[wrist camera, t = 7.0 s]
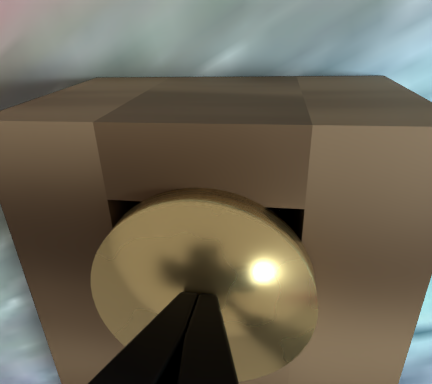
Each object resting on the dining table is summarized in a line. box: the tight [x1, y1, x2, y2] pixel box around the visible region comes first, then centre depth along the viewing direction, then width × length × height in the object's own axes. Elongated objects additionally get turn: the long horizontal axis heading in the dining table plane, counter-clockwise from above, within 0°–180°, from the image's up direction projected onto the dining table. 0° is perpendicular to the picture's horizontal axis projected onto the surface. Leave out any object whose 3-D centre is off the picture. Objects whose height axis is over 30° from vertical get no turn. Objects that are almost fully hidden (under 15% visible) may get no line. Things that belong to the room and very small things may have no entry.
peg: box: [91, 188, 318, 382], centre depth 11 cm, size 5×5×6 cm
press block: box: [0, 76, 432, 384], centre depth 14 cm, size 19×10×6 cm, turn 2°
